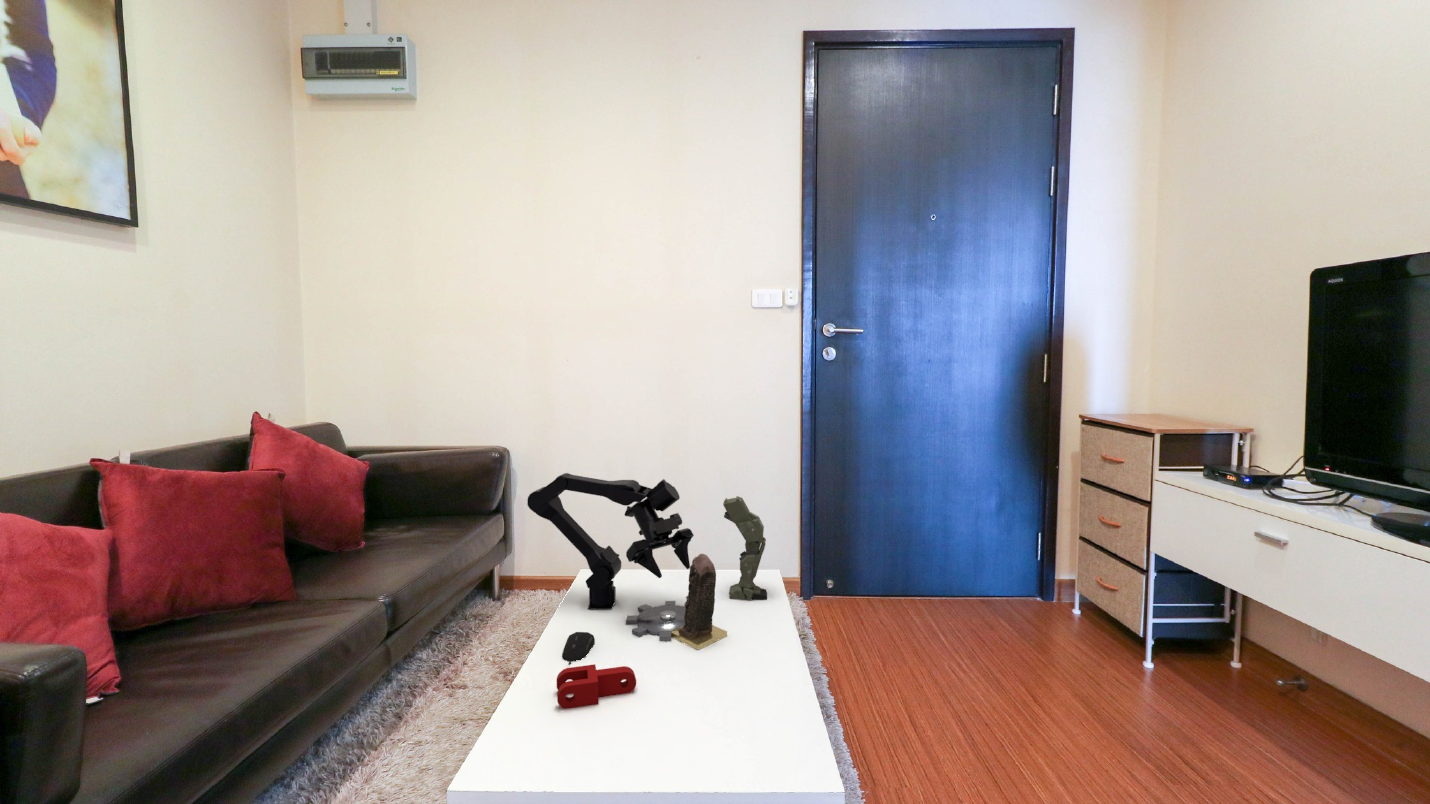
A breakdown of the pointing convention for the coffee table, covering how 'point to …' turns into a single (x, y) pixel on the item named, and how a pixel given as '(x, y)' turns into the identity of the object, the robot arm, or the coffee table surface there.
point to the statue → (699, 598)
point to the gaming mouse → (577, 646)
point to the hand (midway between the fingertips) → (675, 572)
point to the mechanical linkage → (592, 684)
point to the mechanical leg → (747, 549)
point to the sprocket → (668, 624)
